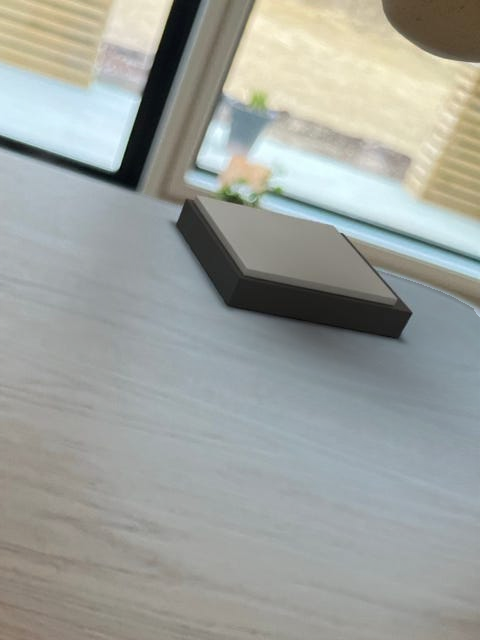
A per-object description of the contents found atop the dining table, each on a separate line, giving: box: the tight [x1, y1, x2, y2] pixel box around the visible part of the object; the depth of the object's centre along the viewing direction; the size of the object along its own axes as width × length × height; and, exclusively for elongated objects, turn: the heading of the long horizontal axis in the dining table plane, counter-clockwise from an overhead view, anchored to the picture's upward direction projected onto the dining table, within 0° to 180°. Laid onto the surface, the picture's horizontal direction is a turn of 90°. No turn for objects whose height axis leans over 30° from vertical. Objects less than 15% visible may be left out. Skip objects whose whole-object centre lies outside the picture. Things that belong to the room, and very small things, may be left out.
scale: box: [176, 194, 413, 339], centre depth 83 cm, size 15×14×3 cm
